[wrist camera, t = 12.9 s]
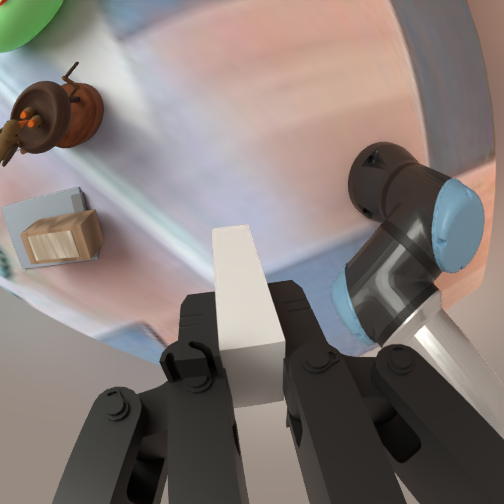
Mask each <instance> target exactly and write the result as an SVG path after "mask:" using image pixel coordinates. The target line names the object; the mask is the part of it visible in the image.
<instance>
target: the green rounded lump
mask: <svg viewBox="0 0 504 504" xmlns="http://www.w3.org/2000/svg"><path fill="white" fill-rule="evenodd" d="M63 1H64V0H0V53H3V52H8V51H12V50H14V49H17V48H19V47H21V46H23V45H24V44H26V43H27V42H29V41H30V40H31V39H33V38H34V37H35V36H36V35H37V34H38V33H39V32H41V31H42V30H43V29H44V27H45V26H46V25H47V24H48V23H49V22H50V21H51V19H52V18H53V17H54V16H55V14H56V13H57V11H58V10H59V8H60V7H61V5H62V3H63Z"/></svg>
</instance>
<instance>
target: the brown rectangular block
mask: <svg viewBox="0 0 504 504" xmlns="http://www.w3.org/2000/svg"><path fill="white" fill-rule="evenodd" d="M20 236H21V239H22V242H23V244H24V247H25V250H26V252H27V255H28V258H29V260H30V263H31V264H43V263H54V262H66V261H77V260H89V259H92V257H93V256H94V255H95V253H96V252H97V251H98V249H99V248H100V246H101V245H102V244H103V243H104V239H103V235H102V232H101V228H100V224H99V221H98V217H97V213H96V209H95V210H89V211H83V212H77V213H71V214H65V215H60V216H54V217H49V218H44V219H39V220H36V221H35V222H34V223H33V224H31V225H30V226H29V227H28V228H27V229H26V230H24V231H23V232H22V233H21V234H20Z"/></svg>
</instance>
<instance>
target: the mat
mask: <svg viewBox="0 0 504 504" xmlns="http://www.w3.org/2000/svg"><path fill="white" fill-rule="evenodd" d="M1 209H2V213H3V216H4V219H5V222H6V225H7V229H8V232H9V234H10V237H11V240H12V243H13V246H14V248H15V251H16V254H17V256H18V259H19V261H20V264H21V266H22V269H26V268H34V267H42V266H50V265H58V264H65V263H73V262H82V261H90V260H98V255H99V251H97V252H96V253H95V255H94V256H93V257H92V259H89V260H77V261H66V262H54V263H43V264H31V263H30V260H29V258H28V255H27V252H26V250H25V247H24V244H23V242H22V239H21V236H20V234H21V233H22V232H23V231H24V230H26V229H27V228H28V227H29V226H30V225H31V224H33V223H34V222H35V221H36V220H39V219H44V218H49V217H54V216H60V215H65V214H71V213H77V212H83V211H87V208H86V204H85V199H84V195H83V192H80V188H79V187H77V188H72V189H68V190H63V191H59V192H55V193H51V194H47V195H43V196H39V197H36V198H32V199H28V200H25V201H21V202H18V203H14V204H11V205H8V206H4V207H2V208H1Z"/></svg>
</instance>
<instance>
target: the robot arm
mask: <svg viewBox="0 0 504 504" xmlns="http://www.w3.org/2000/svg"><path fill="white" fill-rule="evenodd" d="M348 190H349V195H350V198H351V201H352V203H353V205H354V206H355V208H356V209H357V210H358V211H359V212H361V213H362V214H363V215H364V216H365V217H367V218H369V219H371V220H373V221H377V222H382V224H381V225H380V226H379V228H378V229H377V230H376V231H375V233H374V234H373V235H372V236H371V237H370V239H369V240H368V241H367V242H366V243H365V244H364V245H363V247H362V248H361V249H360V250H359V251H358V252H357V253H356V255H355V256H354V257H353V258H352V259H351V260H350V261H349V262H348V263H346V264H345V265H344V267H343V270H342V271H341V272H340V274H339V275H338V276H337V277H336V279H335V280H334V281H333V283H332V285H331V291H330V292H331V300H332V303H333V305H334V308H335V310H336V312H337V314H338V316H339V317H340V319H341V320H342V322H343V323H344V325H345V326H346V327H347V329H348V330H349V331H350V332H351V333H352V334H353V335H355V336H356V338H357V339H358V340H359V341H360V342H361V343H363V344H365V345H368V346H370V345H373V344H376V343H378V344H379V345H380V346H381V348H382V349H381V350H380V351H379V352H378V354H377V357H352V356H347V355H344V354H341V353H340V352H339V351H338V350H337V349H336V348H334V347H332V346H331V345H329V344H328V342H327V341H326V338H325V336H324V334H323V332H322V330H321V328H320V325H319V323H318V321H317V319H316V317H315V315H314V313H313V310H312V309H311V306H310V304H309V302H308V300H307V298H306V296H305V293H304V291H303V289H302V288H301V287H300V286H299V285H298V284H296V283H295V282H294V281H292V280H288V281H281V282H274V283H267V282H266V279H265V276H264V273H263V270H262V266H261V263H260V260H259V257H258V254H257V251H256V248H255V245H254V242H253V239H252V235H251V232H250V229H249V226H248V224H245V225H237V226H229V227H221V228H213V229H212V241H213V262H214V280H215V292H207V293H199V294H190V295H187V297H186V298H185V300H184V301H183V303H182V304H181V309H180V322H179V336H178V341H176V342H174V343H172V344H171V345H169V346H168V347H167V348H166V349H165V350H164V352H163V353H162V355H161V358H160V361H159V362H160V364H161V366H162V369H163V371H164V373H165V375H166V377H167V379H168V381H167V382H165V383H164V384H163V385H161V386H159V387H157V388H154V389H151V390H148V391H145V392H142V393H139V394H136V393H135V392H134V391H133V390H131V389H128V388H126V387H113V388H110V389H107V390H105V391H104V392H103V393H101V394H100V395H99V396H98V398H97V399H96V400H95V402H94V404H93V406H92V408H91V410H90V412H89V414H88V417H87V419H86V421H85V423H84V425H83V427H82V430H81V432H80V434H79V436H78V439H77V441H76V443H75V446H74V448H73V450H72V453H71V455H70V458H69V460H68V463H67V465H66V468H65V470H64V473H63V475H62V478H61V480H60V483H59V486H58V489H57V491H56V494H55V497H54V500H53V503H52V504H160V502H161V498H162V494H163V490H164V486H165V482H166V479H167V475H168V496H169V504H249V499H248V494H247V488H246V482H245V476H244V470H243V463H242V457H241V451H240V444H239V437H238V430H237V424H236V420H235V415H234V408H238V407H246V406H253V405H260V404H266V403H272V402H277V401H283V400H284V396H285V400H286V404H287V419H286V427H290V430H291V434H292V437H293V441H294V445H295V449H296V453H297V457H298V461H299V464H300V468H301V472H302V476H303V479H304V483H305V487H306V491H307V495H308V498H309V502H310V504H407V503H406V501H405V498H404V495H403V493H402V490H401V488H400V485H399V483H398V480H397V478H396V476H395V473H396V474H397V476H398V477H399V478H400V480H401V481H402V482H403V483H404V485H405V486H406V487H407V488H408V490H409V491H410V492H411V493H412V495H413V496H414V497H415V498H416V500H417V501H418V502H419V503H420V504H504V385H503V383H502V382H501V380H500V379H499V378H498V377H497V375H496V374H495V372H494V371H493V370H492V368H491V367H490V366H489V364H488V363H487V362H486V360H485V359H484V358H483V357H482V355H481V354H480V353H479V351H478V350H477V349H476V348H475V347H474V345H473V344H472V343H471V342H470V340H469V339H468V338H467V337H466V336H465V335H464V333H463V332H462V331H461V330H460V329H459V327H458V326H457V325H456V324H455V323H454V322H453V320H452V319H451V318H450V317H449V316H448V315H447V313H446V312H445V311H444V310H443V309H442V306H441V291H440V290H439V289H438V288H437V287H436V286H435V285H434V283H433V282H434V281H435V280H436V278H437V277H438V276H439V275H440V274H441V273H442V271H444V272H448V273H456V272H458V271H459V270H460V269H463V268H465V267H466V266H467V265H468V264H469V262H470V261H471V260H472V258H473V257H474V255H475V253H476V251H477V250H478V247H479V245H480V242H481V239H482V235H483V231H484V220H485V218H484V209H483V205H482V202H481V200H480V198H479V196H478V195H477V194H476V192H474V191H473V190H472V189H470V188H469V187H467V186H466V185H464V184H462V183H461V182H460V181H459V180H457V179H453V178H451V177H449V176H447V175H444V174H442V173H440V172H438V171H435V170H433V169H431V168H428V167H426V166H424V165H421V164H419V162H418V161H417V160H416V159H415V158H414V157H413V156H412V155H411V154H410V153H409V152H408V151H407V150H406V149H404V148H403V147H401V146H399V145H396V144H393V143H389V142H379V143H375V144H372V145H370V146H368V147H367V148H366V149H364V150H363V151H362V152H361V153H360V154H359V155H358V157H357V158H356V160H355V161H354V163H353V165H352V167H351V170H350V174H349V179H348ZM394 472H395V473H394Z"/></svg>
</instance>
